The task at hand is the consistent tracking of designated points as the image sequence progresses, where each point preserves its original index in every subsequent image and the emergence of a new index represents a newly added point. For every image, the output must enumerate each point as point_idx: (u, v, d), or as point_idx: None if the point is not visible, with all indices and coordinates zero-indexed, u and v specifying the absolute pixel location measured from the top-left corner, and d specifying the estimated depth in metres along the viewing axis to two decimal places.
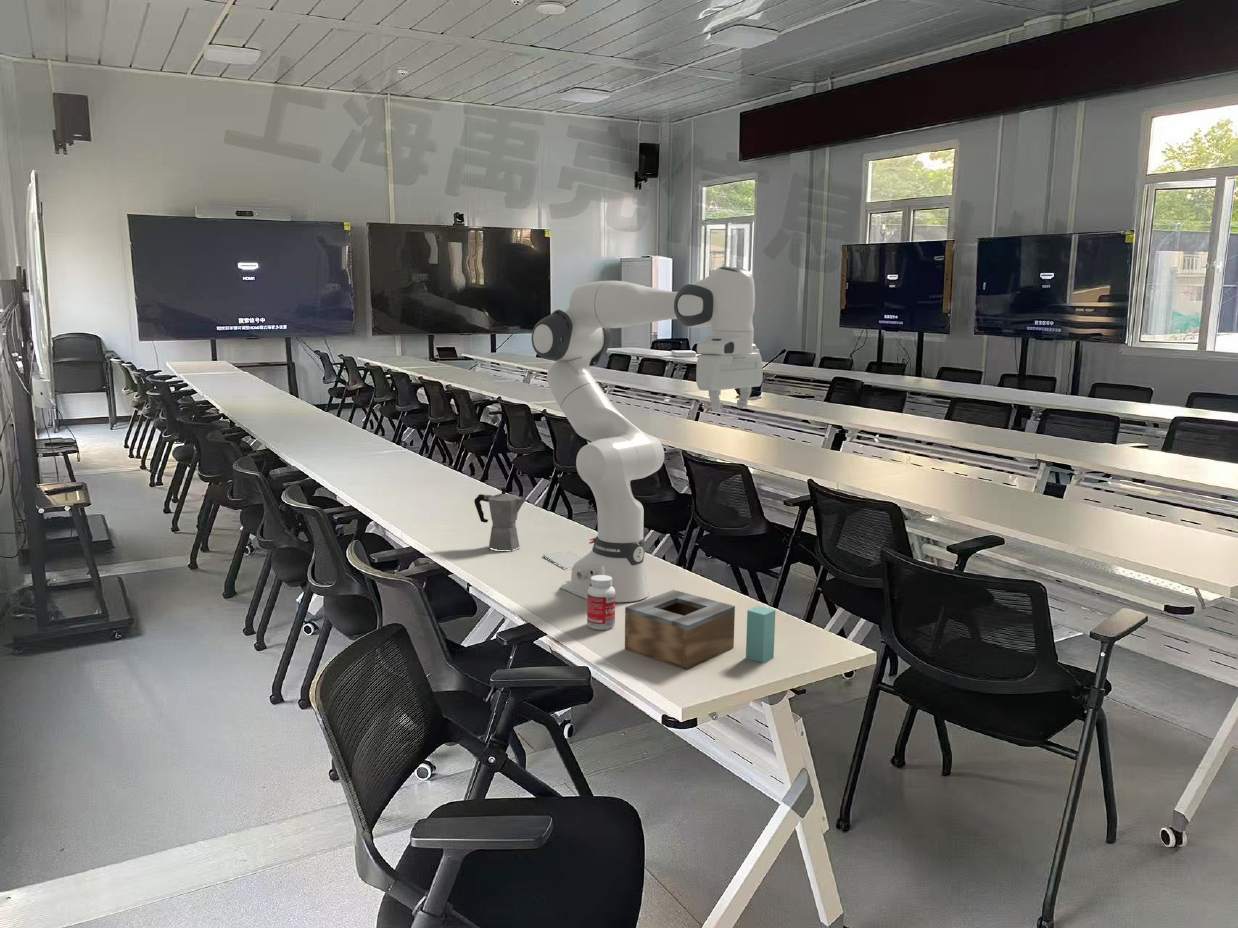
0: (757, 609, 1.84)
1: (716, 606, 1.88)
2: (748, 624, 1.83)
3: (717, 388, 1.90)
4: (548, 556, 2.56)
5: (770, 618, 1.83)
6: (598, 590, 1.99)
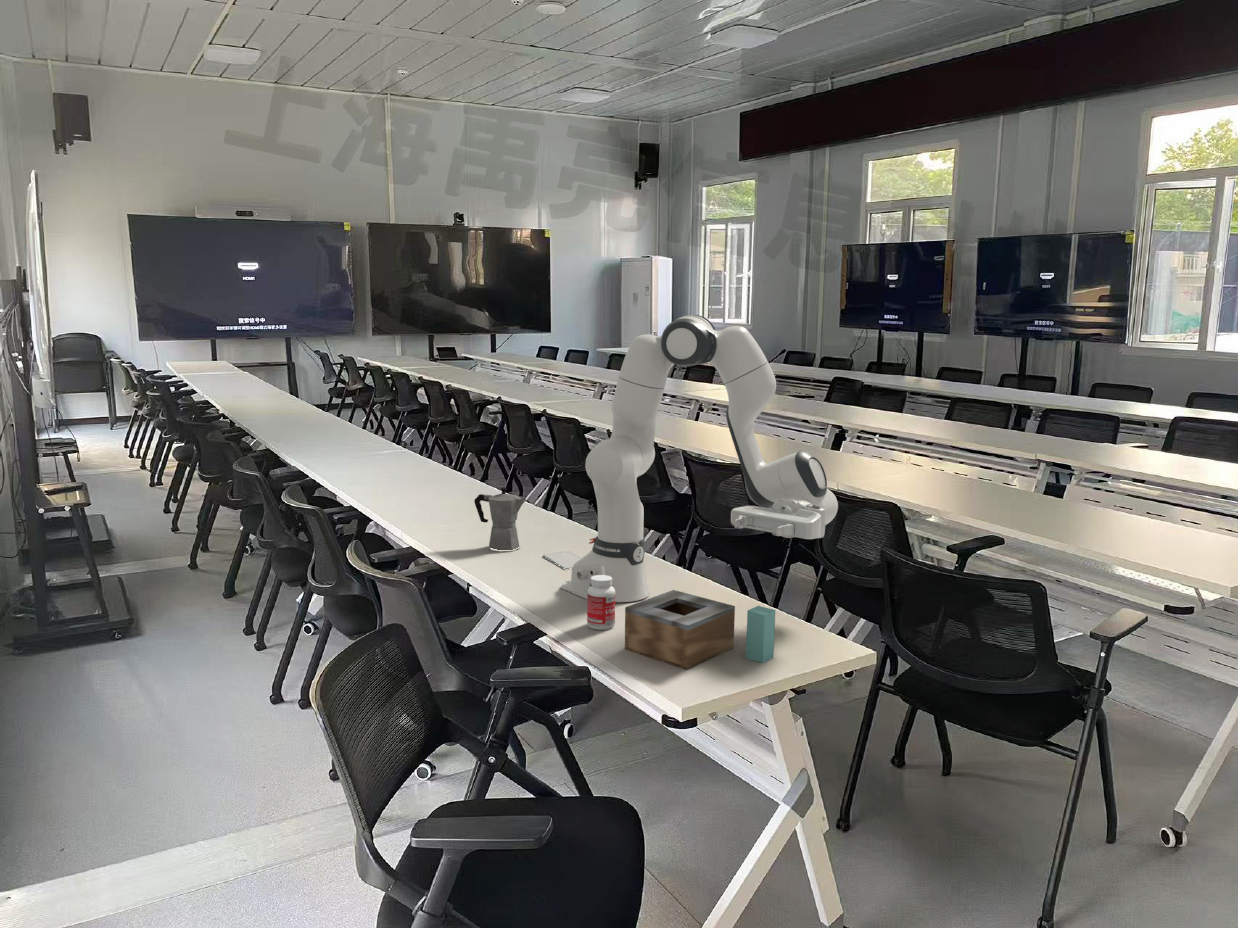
0: (757, 609, 1.84)
1: (716, 606, 1.88)
2: (748, 624, 1.83)
3: (798, 537, 1.92)
4: (548, 556, 2.56)
5: (770, 618, 1.83)
6: (598, 590, 1.99)
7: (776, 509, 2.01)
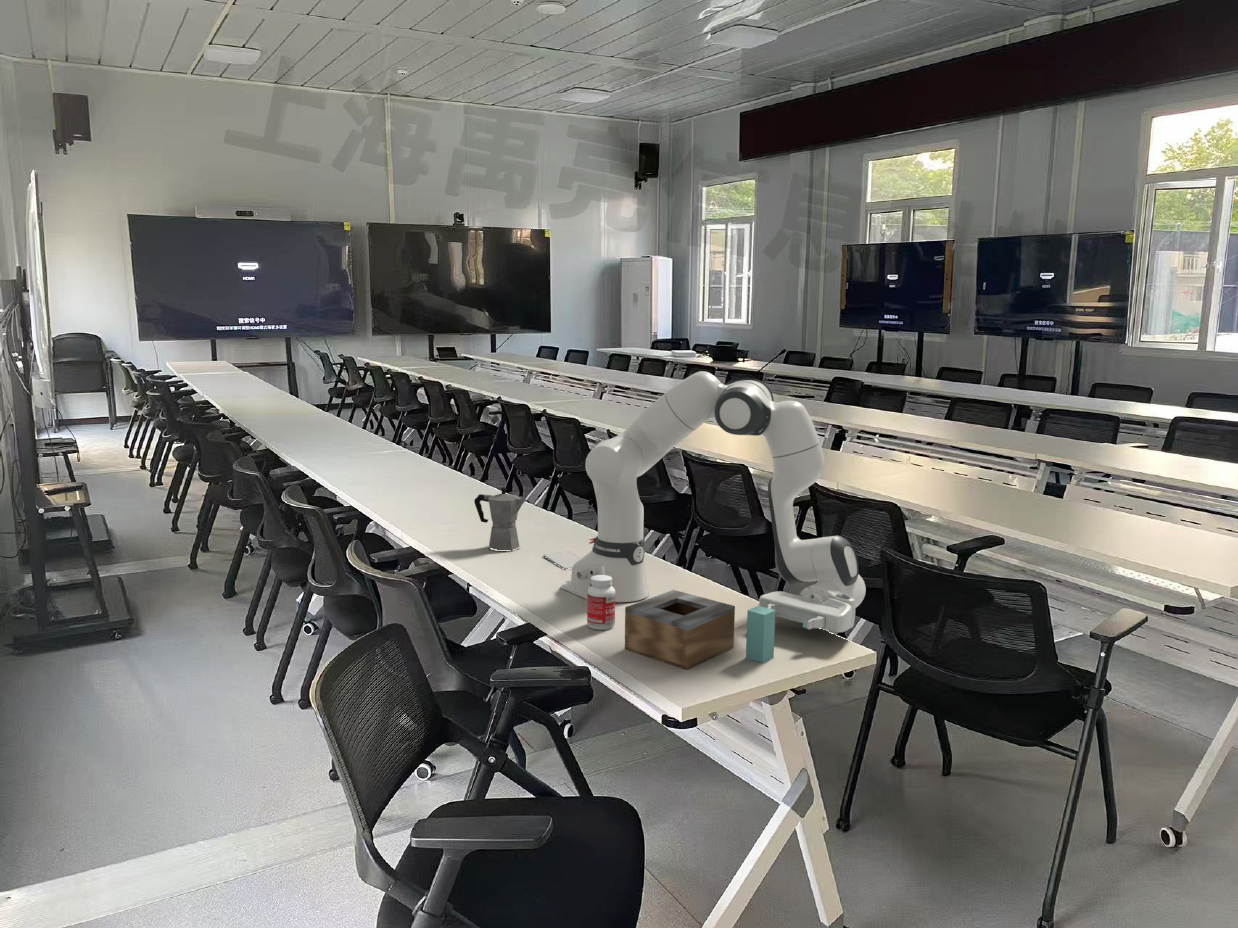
0: (757, 609, 1.84)
1: (716, 606, 1.88)
2: (748, 624, 1.83)
3: None
4: (548, 556, 2.56)
5: (770, 618, 1.83)
6: (598, 590, 1.99)
7: (805, 597, 2.00)
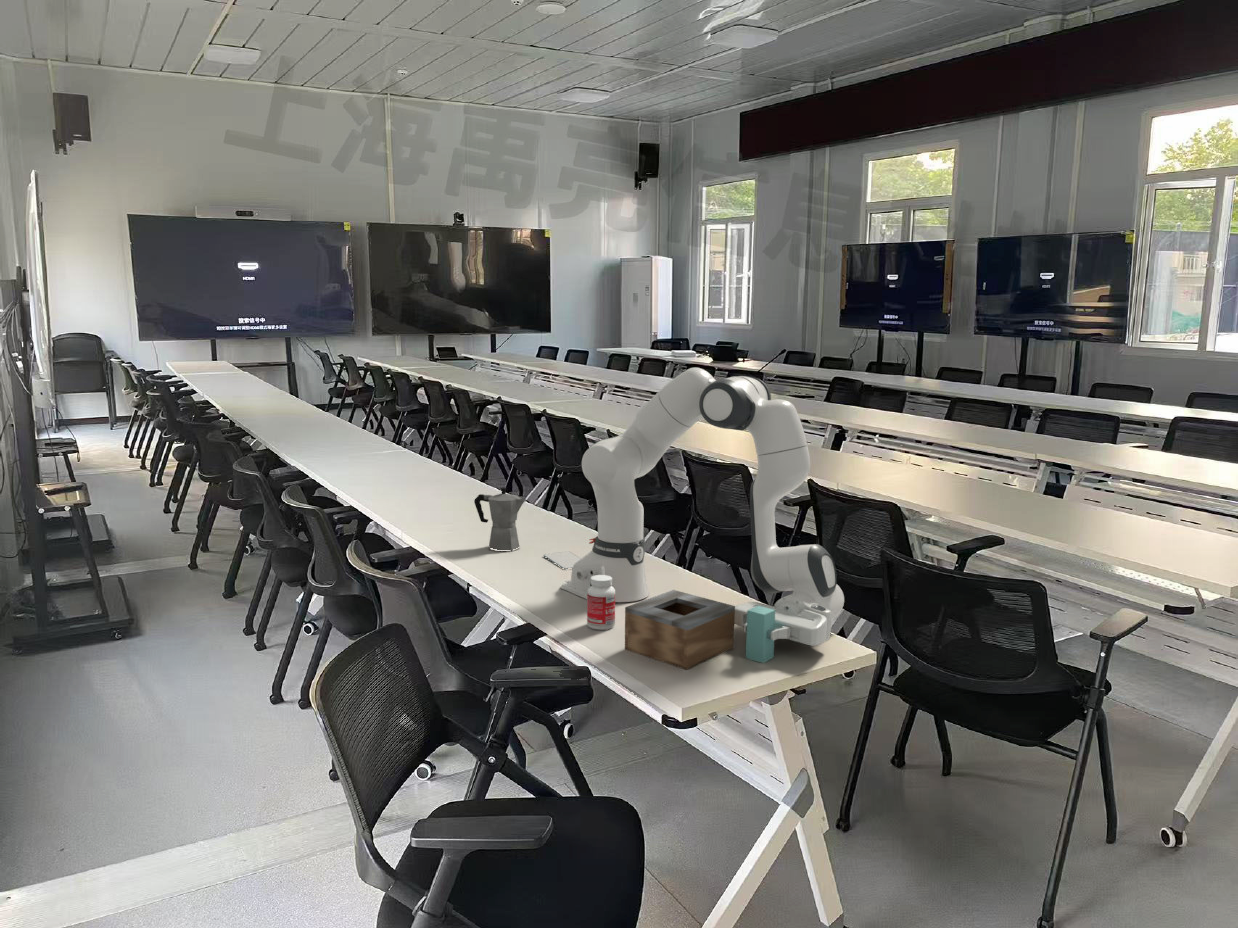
0: (757, 609, 1.84)
1: (716, 606, 1.88)
2: (748, 624, 1.83)
3: (803, 643, 1.83)
4: (548, 556, 2.56)
5: (770, 617, 1.83)
6: (598, 590, 1.99)
7: (779, 608, 1.92)
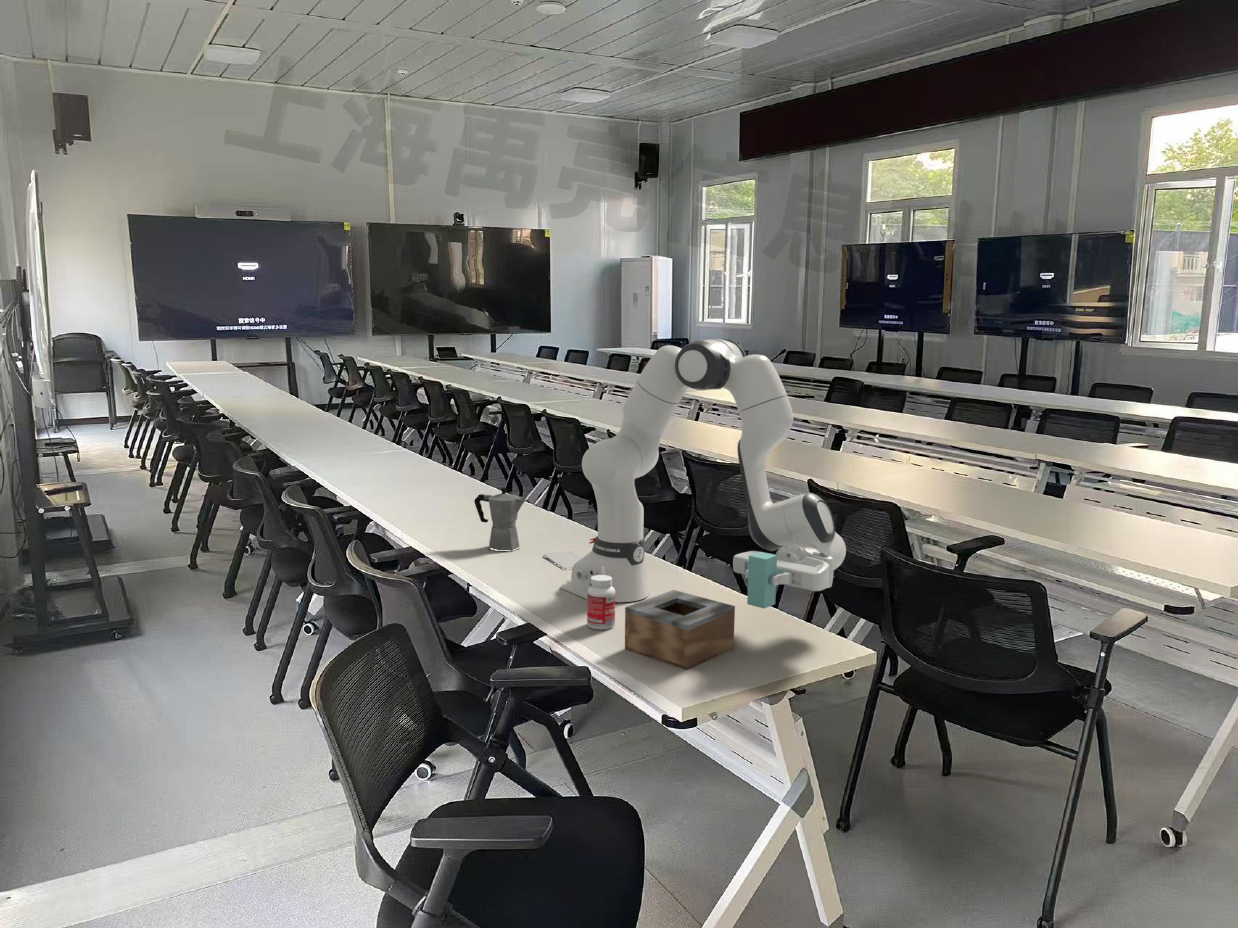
0: (759, 555, 1.82)
1: (716, 606, 1.88)
2: (749, 569, 1.82)
3: (805, 588, 1.81)
4: (548, 556, 2.56)
5: (772, 563, 1.81)
6: (598, 590, 1.99)
7: (781, 556, 1.90)
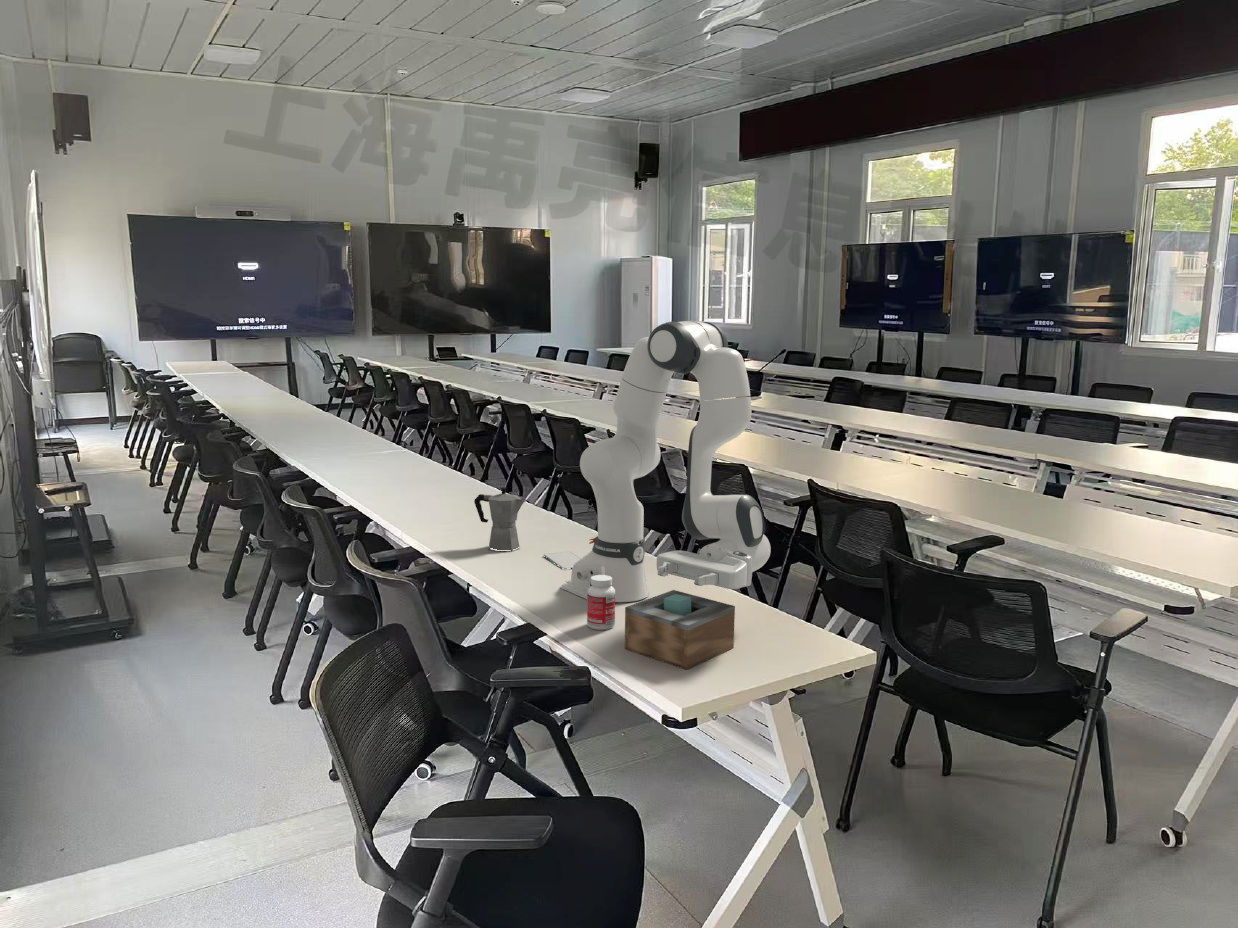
0: (673, 597, 1.89)
1: (716, 606, 1.88)
2: None
3: None
4: (549, 556, 2.57)
5: (686, 604, 1.87)
6: (598, 590, 1.99)
7: (703, 555, 1.95)
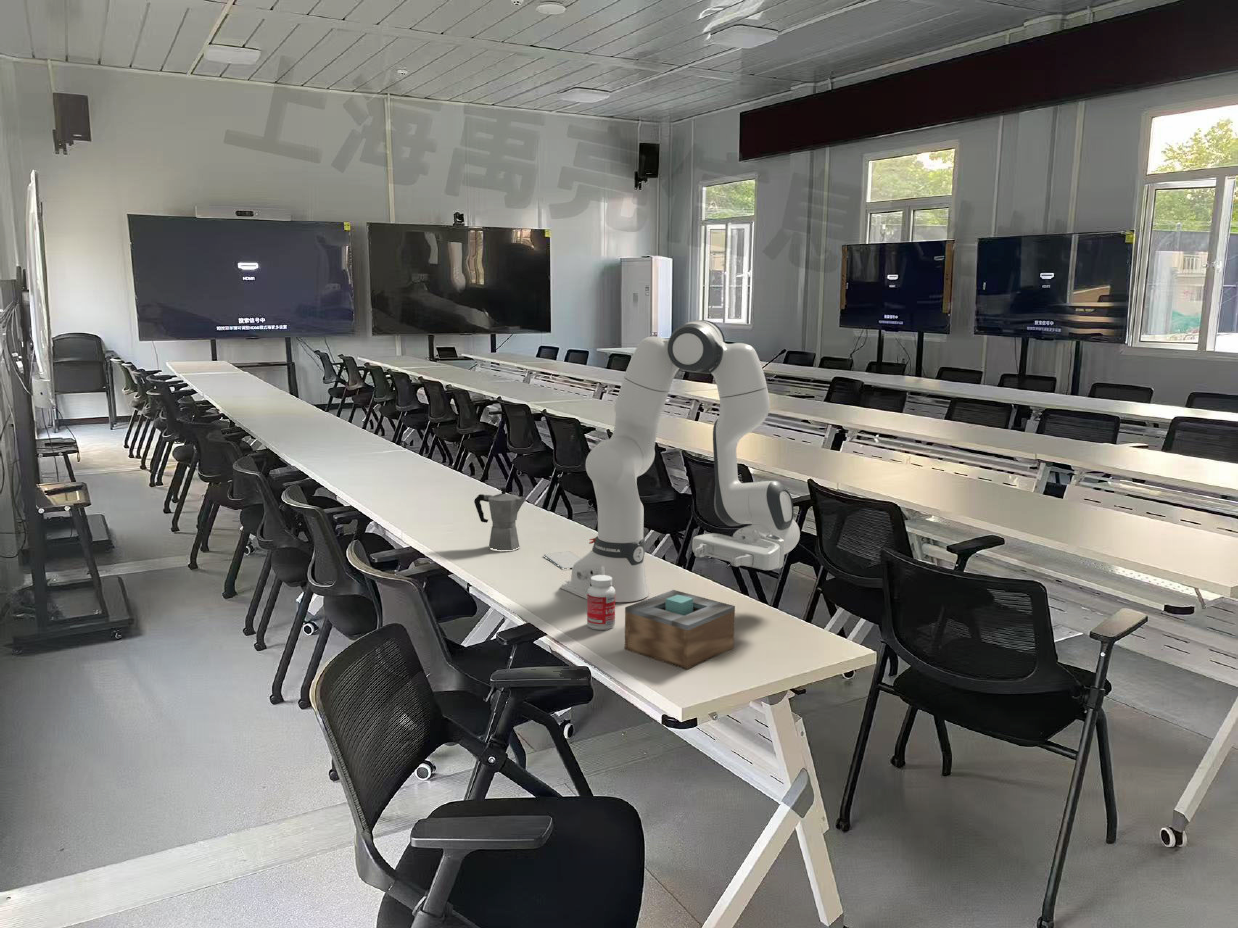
0: (675, 598, 1.88)
1: (716, 606, 1.88)
2: None
3: None
4: (549, 556, 2.57)
5: (687, 606, 1.87)
6: (598, 590, 1.99)
7: (737, 538, 2.04)
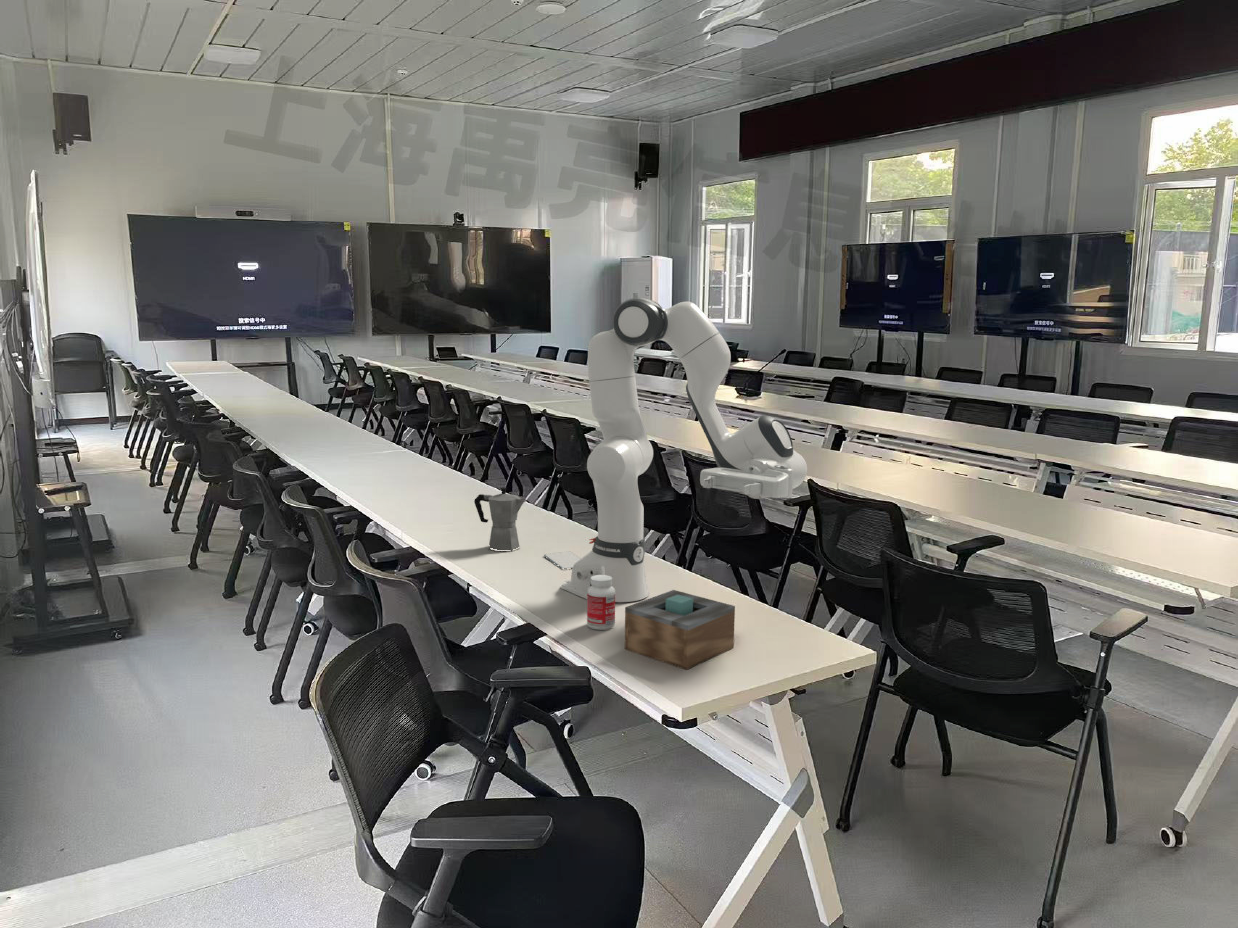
0: (675, 598, 1.88)
1: (716, 606, 1.88)
2: None
3: (765, 496, 1.94)
4: (549, 556, 2.57)
5: (687, 606, 1.87)
6: (598, 590, 1.99)
7: (745, 470, 2.03)
